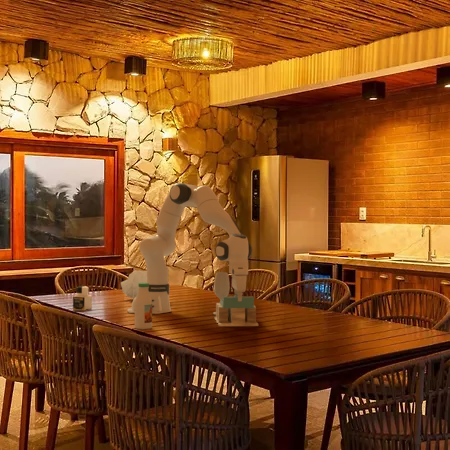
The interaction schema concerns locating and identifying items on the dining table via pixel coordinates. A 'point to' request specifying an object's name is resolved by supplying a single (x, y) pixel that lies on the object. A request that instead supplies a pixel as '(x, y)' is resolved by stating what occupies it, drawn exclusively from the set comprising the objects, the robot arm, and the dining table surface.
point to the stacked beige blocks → (235, 316)
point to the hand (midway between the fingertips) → (238, 299)
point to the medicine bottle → (82, 299)
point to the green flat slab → (237, 302)
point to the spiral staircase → (134, 283)
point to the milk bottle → (143, 308)
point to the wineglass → (221, 285)
